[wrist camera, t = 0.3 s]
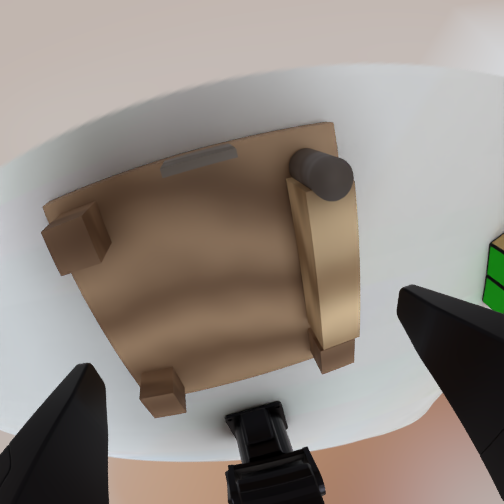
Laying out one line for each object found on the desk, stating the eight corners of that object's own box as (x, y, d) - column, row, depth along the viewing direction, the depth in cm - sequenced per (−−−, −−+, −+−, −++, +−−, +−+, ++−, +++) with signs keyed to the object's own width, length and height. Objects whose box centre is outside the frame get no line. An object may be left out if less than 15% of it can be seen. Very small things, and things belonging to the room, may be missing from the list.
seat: (344, 336, 28) (363, 365, 25) (150, 391, 27) (149, 425, 23) (325, 121, 19) (356, 125, 15) (49, 201, 17) (22, 222, 14)
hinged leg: (281, 153, 18) (304, 162, 15) (324, 144, 18) (355, 153, 15) (307, 322, 24) (326, 354, 21) (340, 310, 25) (362, 340, 21)
